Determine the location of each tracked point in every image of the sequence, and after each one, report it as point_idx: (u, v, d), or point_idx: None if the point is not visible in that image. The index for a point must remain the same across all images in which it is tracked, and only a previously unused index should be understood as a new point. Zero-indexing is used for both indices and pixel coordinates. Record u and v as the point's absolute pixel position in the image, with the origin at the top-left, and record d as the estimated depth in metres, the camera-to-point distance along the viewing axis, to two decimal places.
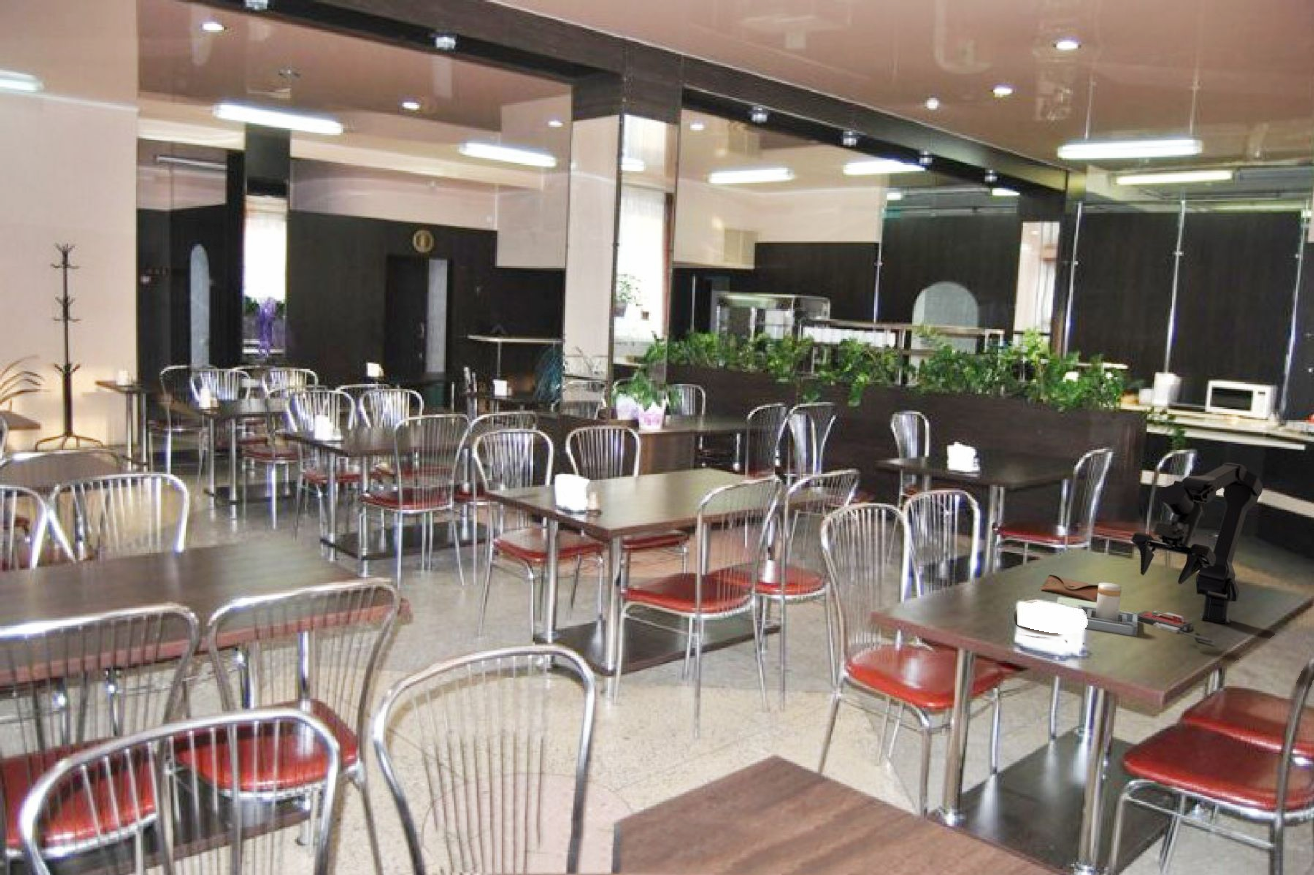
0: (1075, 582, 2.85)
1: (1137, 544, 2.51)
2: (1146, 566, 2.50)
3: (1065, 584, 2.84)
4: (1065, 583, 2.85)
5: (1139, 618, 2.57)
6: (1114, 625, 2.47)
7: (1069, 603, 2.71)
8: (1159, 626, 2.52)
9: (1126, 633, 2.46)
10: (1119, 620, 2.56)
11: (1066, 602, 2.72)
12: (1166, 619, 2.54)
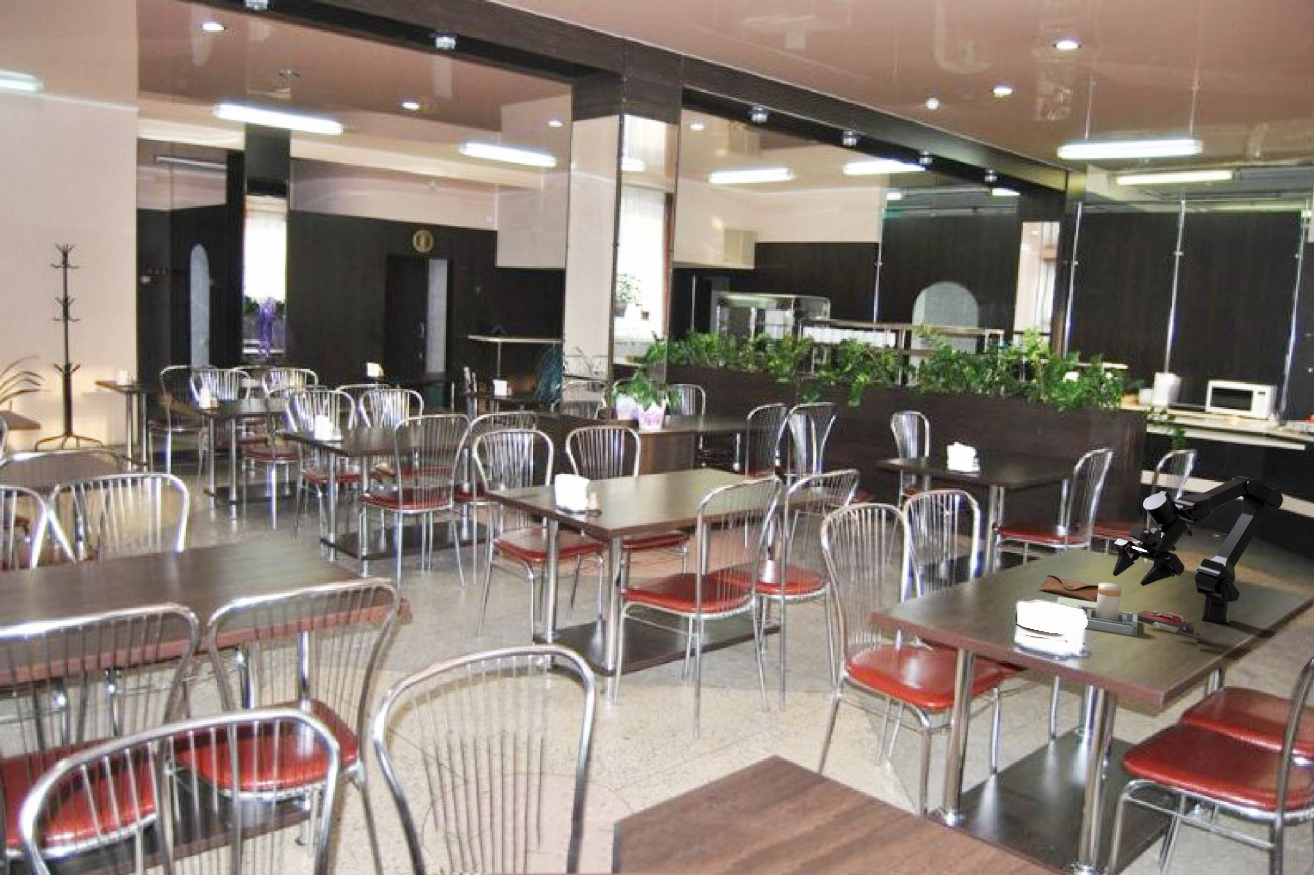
0: (1074, 582, 2.84)
1: (1117, 547, 2.61)
2: (1120, 569, 2.59)
3: (1064, 584, 2.84)
4: (1064, 583, 2.84)
5: (1139, 617, 2.58)
6: (1114, 625, 2.47)
7: (1069, 603, 2.71)
8: (1158, 625, 2.52)
9: (1126, 633, 2.46)
10: (1119, 620, 2.56)
11: (1066, 602, 2.72)
12: (1165, 618, 2.55)
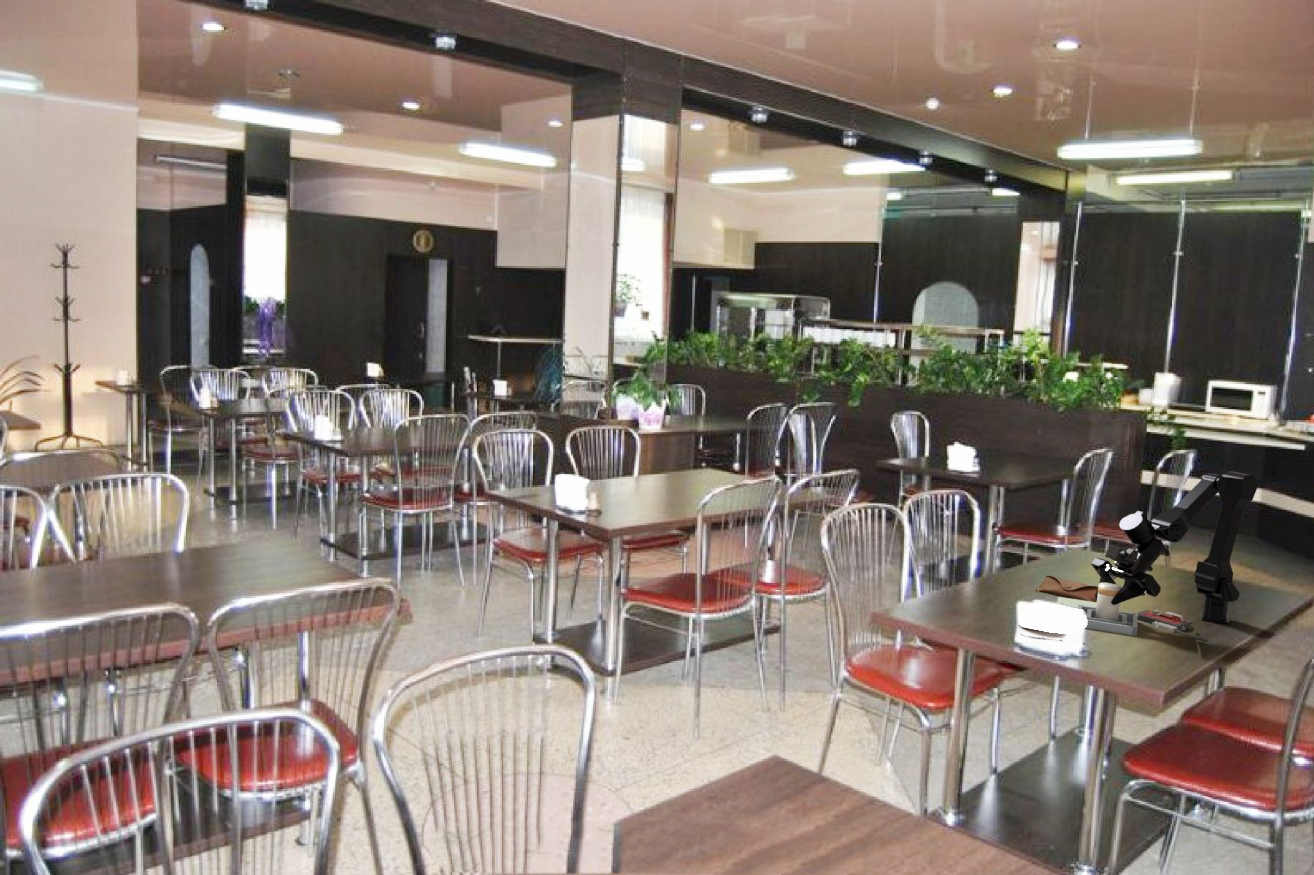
0: (1072, 583, 2.84)
1: (1099, 569, 2.58)
2: None
3: (1062, 585, 2.83)
4: (1062, 584, 2.84)
5: (1139, 617, 2.58)
6: (1114, 625, 2.47)
7: (1069, 603, 2.71)
8: (1157, 625, 2.53)
9: (1126, 633, 2.46)
10: (1119, 620, 2.56)
11: (1066, 602, 2.72)
12: (1165, 618, 2.55)
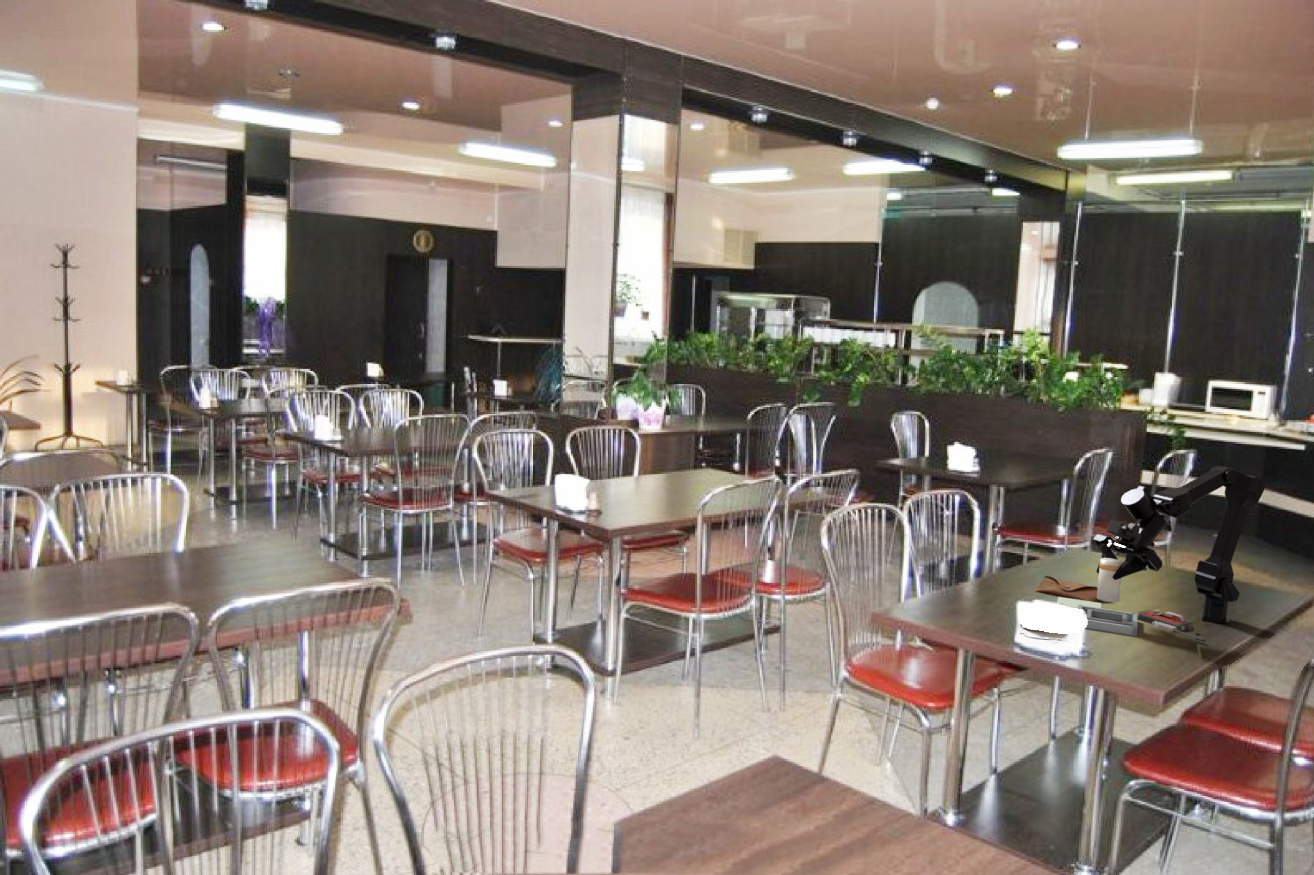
0: (1071, 583, 2.83)
1: (1101, 545, 2.57)
2: None
3: (1061, 585, 2.83)
4: (1061, 584, 2.83)
5: (1139, 616, 2.59)
6: (1114, 625, 2.47)
7: (1069, 603, 2.71)
8: (1156, 624, 2.53)
9: (1126, 633, 2.46)
10: (1119, 620, 2.56)
11: (1066, 602, 2.72)
12: (1165, 618, 2.55)
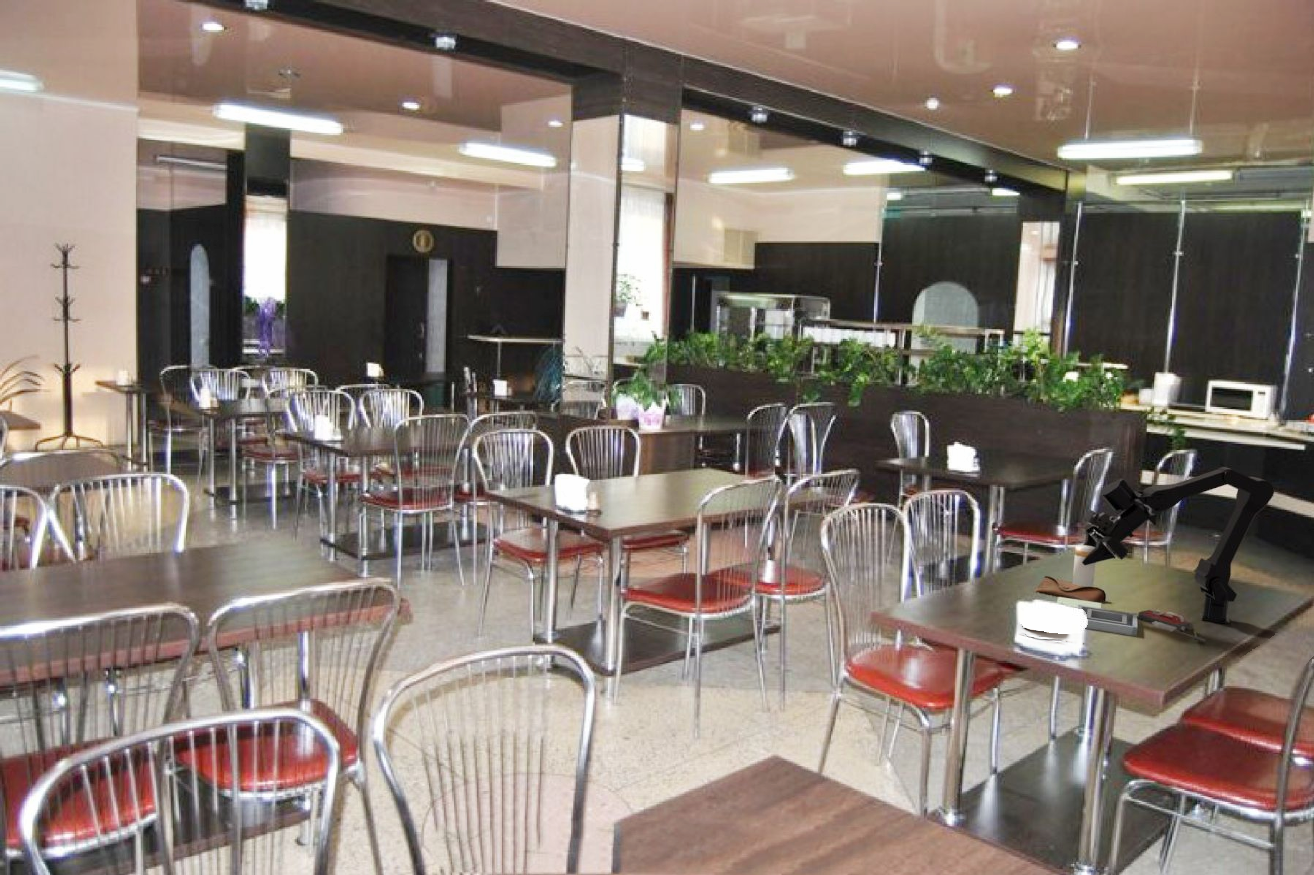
0: (1070, 584, 2.83)
1: (1085, 533, 2.71)
2: None
3: (1060, 585, 2.83)
4: (1060, 584, 2.83)
5: (1140, 616, 2.59)
6: (1114, 625, 2.47)
7: (1069, 603, 2.71)
8: (1156, 624, 2.53)
9: (1126, 633, 2.46)
10: (1119, 620, 2.56)
11: (1066, 602, 2.72)
12: (1166, 618, 2.55)
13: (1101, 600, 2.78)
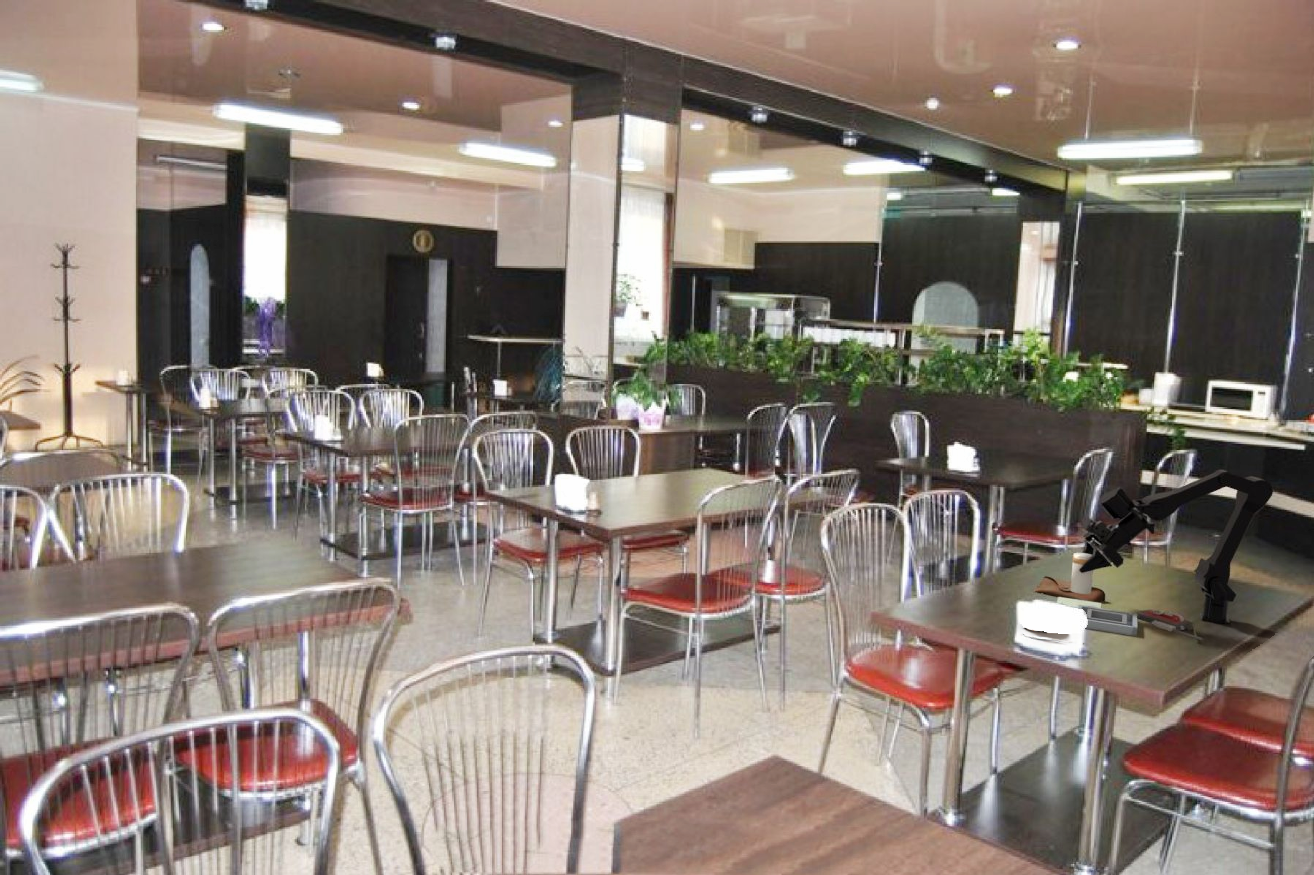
0: (1070, 584, 2.83)
1: (1084, 541, 2.73)
2: None
3: (1059, 586, 2.82)
4: (1059, 585, 2.83)
5: (1140, 615, 2.60)
6: (1114, 625, 2.47)
7: (1069, 603, 2.71)
8: (1156, 624, 2.54)
9: (1126, 633, 2.46)
10: (1119, 620, 2.56)
11: (1066, 602, 2.72)
12: (1165, 617, 2.56)
13: (1100, 600, 2.78)
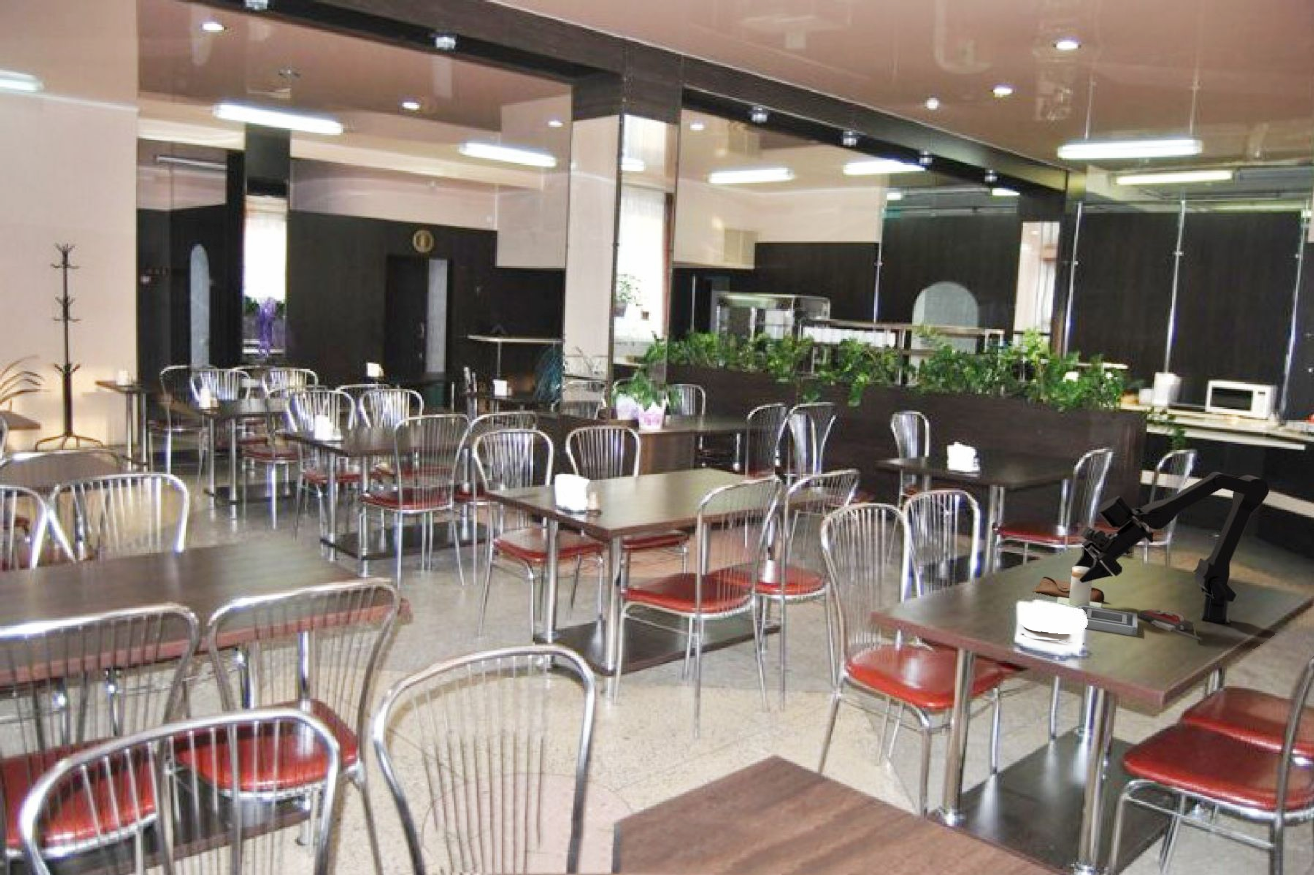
0: (1069, 584, 2.82)
1: (1082, 548, 2.75)
2: None
3: (1058, 586, 2.82)
4: (1058, 585, 2.82)
5: (1140, 615, 2.60)
6: (1114, 625, 2.47)
7: None
8: (1155, 623, 2.54)
9: (1126, 633, 2.46)
10: (1119, 620, 2.56)
11: (1066, 602, 2.72)
12: (1166, 617, 2.56)
13: (1099, 601, 2.77)
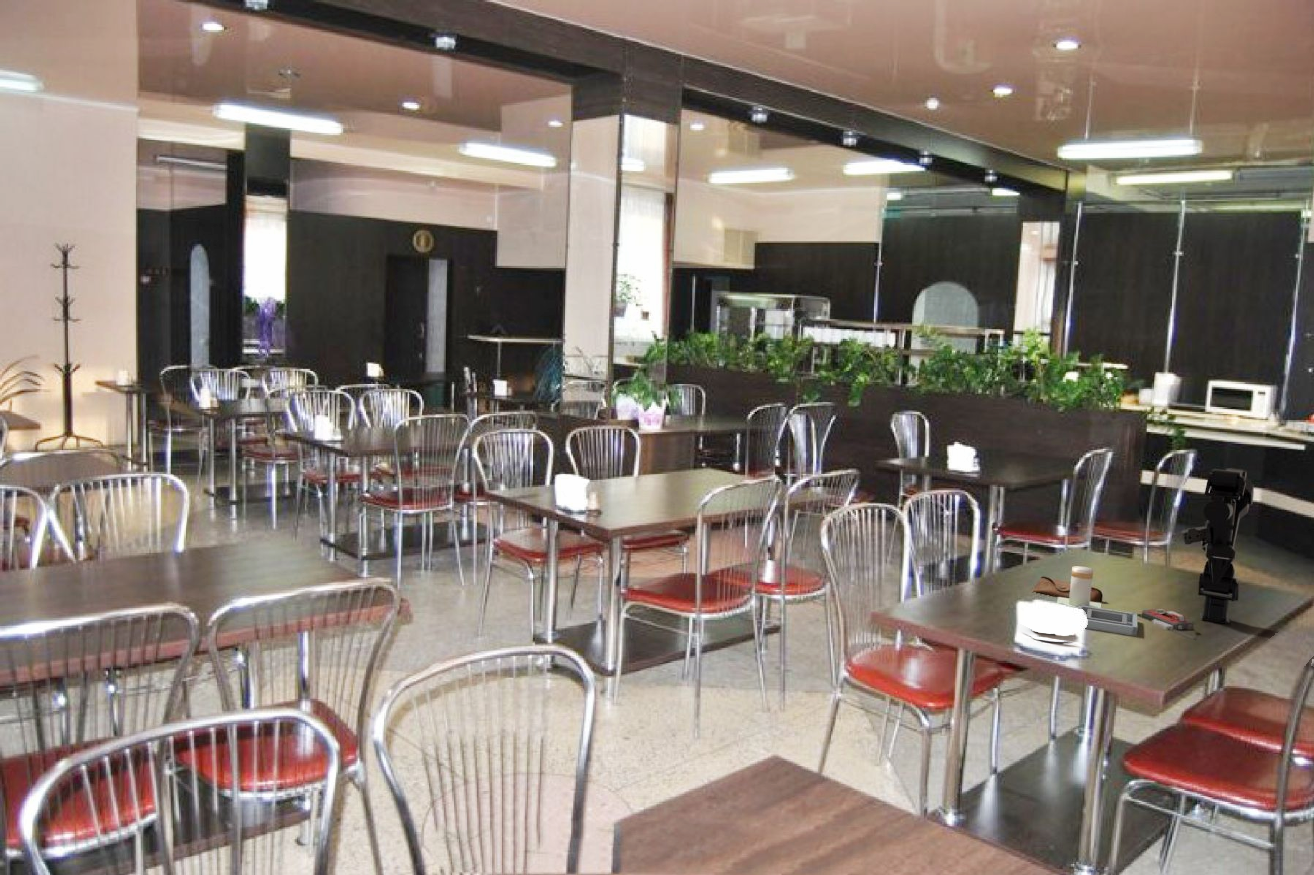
0: (1067, 584, 2.82)
1: None
2: None
3: (1057, 586, 2.82)
4: (1057, 585, 2.83)
5: (1142, 614, 2.61)
6: (1114, 625, 2.47)
7: None
8: (1154, 622, 2.55)
9: (1126, 633, 2.46)
10: (1119, 620, 2.56)
11: (1066, 602, 2.72)
12: (1166, 617, 2.56)
13: (1098, 600, 2.78)
